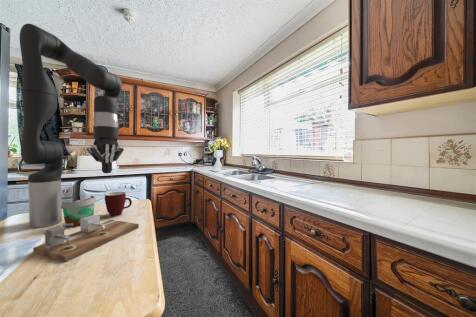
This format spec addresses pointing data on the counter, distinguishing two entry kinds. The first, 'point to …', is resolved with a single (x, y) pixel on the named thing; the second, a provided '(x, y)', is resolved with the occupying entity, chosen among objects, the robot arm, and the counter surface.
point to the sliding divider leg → (90, 223)
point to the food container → (77, 211)
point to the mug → (116, 202)
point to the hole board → (80, 240)
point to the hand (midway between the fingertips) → (107, 173)
